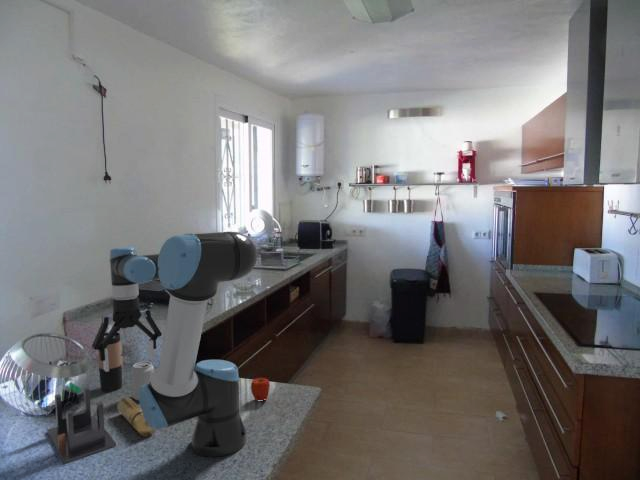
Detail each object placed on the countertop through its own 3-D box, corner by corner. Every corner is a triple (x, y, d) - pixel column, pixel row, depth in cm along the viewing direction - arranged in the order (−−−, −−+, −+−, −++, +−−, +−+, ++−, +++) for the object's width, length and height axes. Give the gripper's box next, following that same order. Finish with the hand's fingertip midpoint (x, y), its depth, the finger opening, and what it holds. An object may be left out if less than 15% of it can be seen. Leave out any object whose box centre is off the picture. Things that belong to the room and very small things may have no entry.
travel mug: (101, 385, 170) (99, 333, 168) (124, 382, 172) (121, 331, 170) (98, 393, 162) (95, 339, 161) (121, 390, 165) (118, 337, 163)
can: (147, 402, 155) (145, 368, 154) (127, 400, 156) (126, 367, 155) (159, 393, 162) (157, 360, 161) (140, 391, 163) (139, 359, 162)
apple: (248, 402, 154) (247, 381, 153) (256, 395, 159) (256, 374, 159) (265, 405, 152) (264, 383, 151) (272, 397, 157) (272, 376, 157)
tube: (156, 434, 134) (157, 417, 134) (139, 439, 130) (139, 421, 130) (133, 411, 149) (133, 396, 149) (116, 415, 145) (117, 399, 145)
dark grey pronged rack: (116, 445, 127) (114, 405, 126) (64, 463, 119) (61, 420, 118) (94, 418, 144) (92, 382, 143) (47, 432, 135) (44, 394, 134)
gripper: (160, 290, 150) (164, 352, 152) (77, 302, 134) (82, 372, 135) (170, 293, 145) (173, 358, 146) (84, 305, 128) (89, 378, 130)
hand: (129, 365), depth 141 cm, fingers open, 13 cm apart
